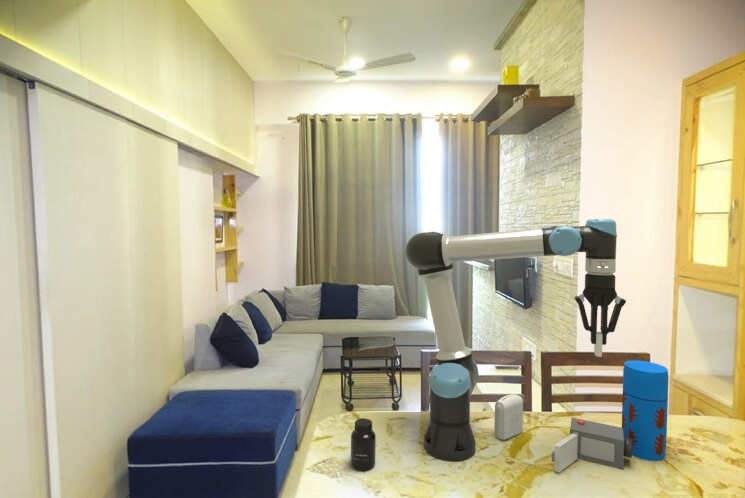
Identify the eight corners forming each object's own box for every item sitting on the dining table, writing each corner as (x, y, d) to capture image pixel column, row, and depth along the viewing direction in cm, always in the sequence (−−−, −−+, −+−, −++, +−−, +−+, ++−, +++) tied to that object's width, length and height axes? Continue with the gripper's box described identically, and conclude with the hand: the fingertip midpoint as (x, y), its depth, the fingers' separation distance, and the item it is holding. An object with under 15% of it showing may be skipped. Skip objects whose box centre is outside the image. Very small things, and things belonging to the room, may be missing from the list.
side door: (571, 455, 114) (571, 430, 113) (578, 458, 112) (579, 432, 112) (551, 470, 107) (551, 442, 107) (558, 473, 105) (559, 446, 105)
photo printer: (513, 426, 131) (513, 389, 130) (524, 432, 127) (525, 394, 127) (492, 436, 125) (492, 397, 125) (503, 442, 122) (504, 402, 121)
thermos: (661, 445, 119) (664, 363, 118) (670, 465, 109) (673, 375, 108) (618, 438, 124) (620, 358, 122) (623, 455, 114) (626, 369, 113)
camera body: (569, 456, 114) (570, 427, 113) (571, 443, 121) (571, 415, 120) (632, 472, 106) (633, 440, 106) (630, 456, 113) (630, 427, 113)
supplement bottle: (357, 474, 106) (356, 430, 105) (346, 461, 112) (346, 419, 111) (380, 467, 109) (379, 424, 109) (368, 455, 115) (368, 414, 115)
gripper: (576, 274, 112) (574, 357, 113) (630, 275, 108) (627, 361, 109) (572, 271, 119) (571, 349, 121) (623, 272, 115) (620, 353, 116)
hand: (598, 355), depth 115 cm, fingers closed
